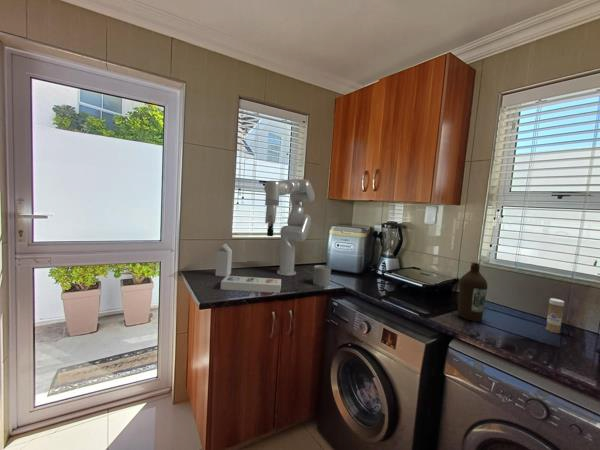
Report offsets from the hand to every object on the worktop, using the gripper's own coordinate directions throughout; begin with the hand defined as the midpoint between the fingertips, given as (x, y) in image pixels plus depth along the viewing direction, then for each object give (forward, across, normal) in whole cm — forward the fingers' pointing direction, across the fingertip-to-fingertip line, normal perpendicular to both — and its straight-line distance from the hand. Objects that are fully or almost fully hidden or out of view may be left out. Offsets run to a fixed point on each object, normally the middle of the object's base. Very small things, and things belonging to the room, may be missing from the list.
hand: (270, 235), depth 157 cm
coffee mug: (+27, -8, +32) cm, 43 cm away
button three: (+27, +10, -7) cm, 29 cm away
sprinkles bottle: (+27, +44, +124) cm, 134 cm away
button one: (+27, +10, +3) cm, 29 cm away
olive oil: (+27, +34, +95) cm, 105 cm away
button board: (+27, +10, -7) cm, 30 cm away
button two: (+27, +10, -17) cm, 33 cm away
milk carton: (+27, -12, -28) cm, 41 cm away
